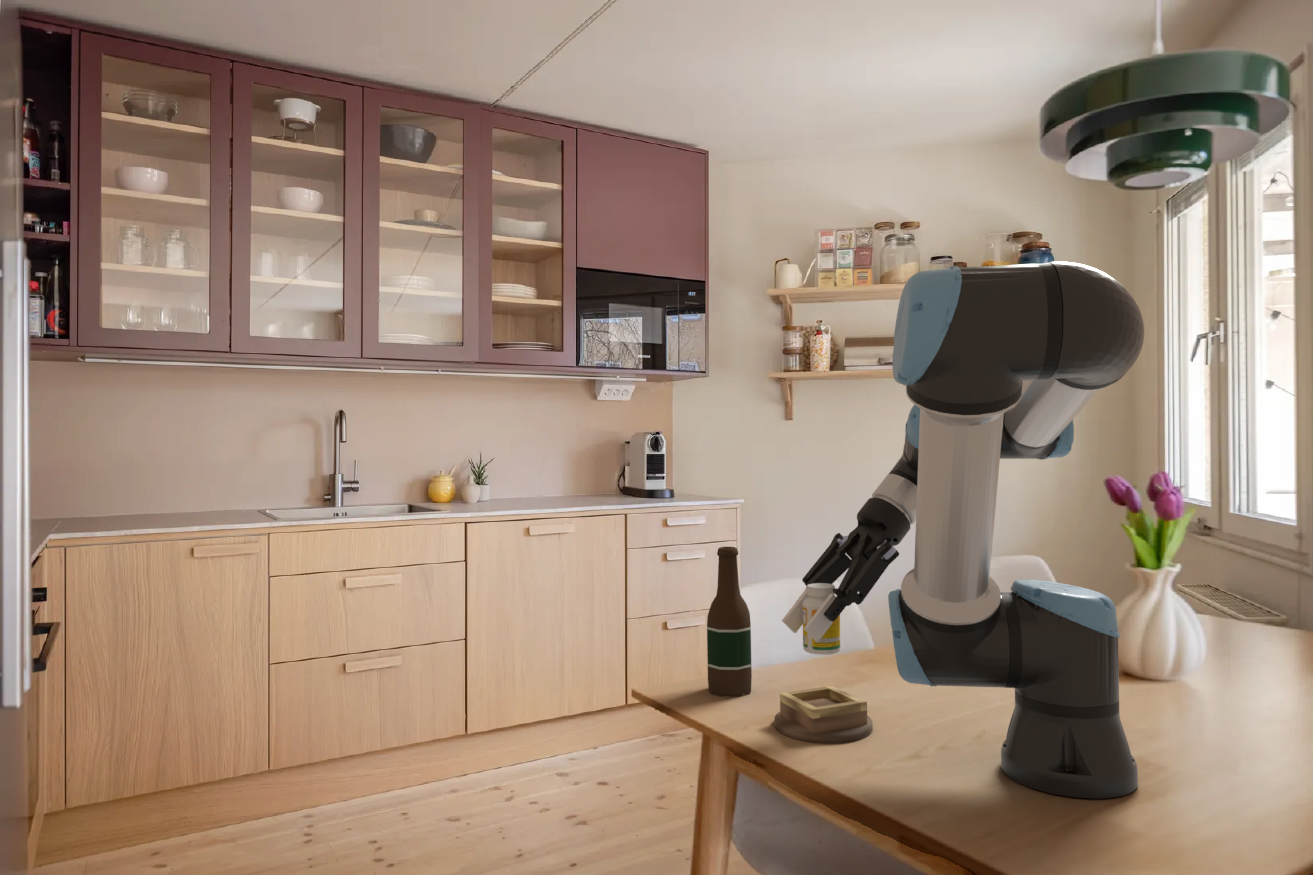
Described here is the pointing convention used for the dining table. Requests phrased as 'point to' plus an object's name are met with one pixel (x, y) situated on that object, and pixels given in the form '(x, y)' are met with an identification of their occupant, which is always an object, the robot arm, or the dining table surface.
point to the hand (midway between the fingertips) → (799, 630)
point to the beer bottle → (729, 632)
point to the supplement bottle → (810, 607)
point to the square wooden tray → (823, 716)
